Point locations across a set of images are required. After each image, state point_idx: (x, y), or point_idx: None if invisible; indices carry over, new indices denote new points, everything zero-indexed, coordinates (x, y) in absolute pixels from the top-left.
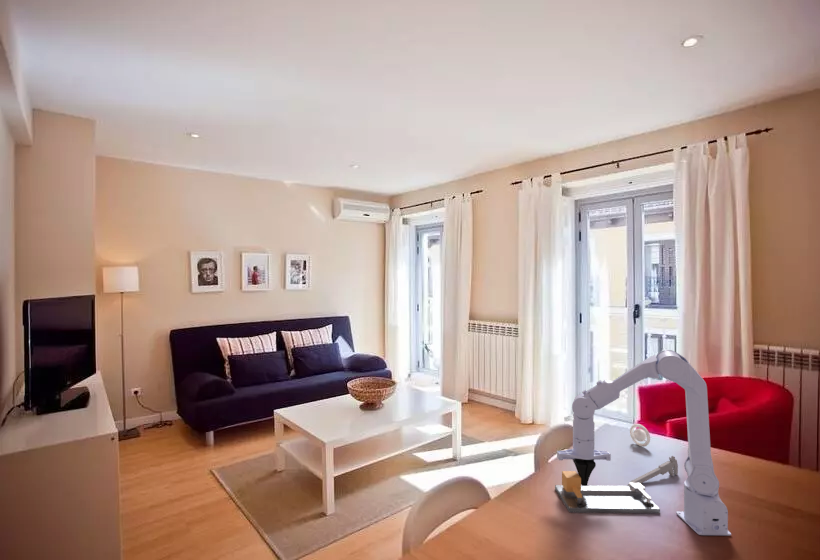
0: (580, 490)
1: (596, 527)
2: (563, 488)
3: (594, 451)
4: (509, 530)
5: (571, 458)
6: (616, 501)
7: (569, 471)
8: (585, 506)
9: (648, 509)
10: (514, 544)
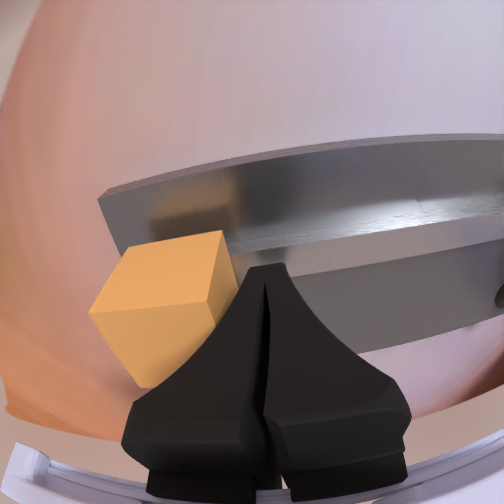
0: None
1: None
2: None
3: (485, 497)
4: (66, 404)
5: (136, 494)
6: (414, 302)
7: (146, 312)
8: None
9: (489, 316)
10: (92, 428)
